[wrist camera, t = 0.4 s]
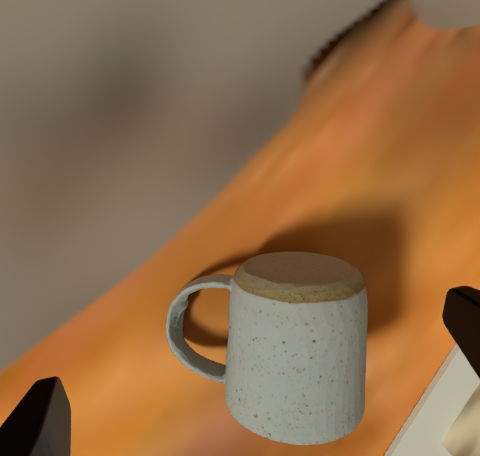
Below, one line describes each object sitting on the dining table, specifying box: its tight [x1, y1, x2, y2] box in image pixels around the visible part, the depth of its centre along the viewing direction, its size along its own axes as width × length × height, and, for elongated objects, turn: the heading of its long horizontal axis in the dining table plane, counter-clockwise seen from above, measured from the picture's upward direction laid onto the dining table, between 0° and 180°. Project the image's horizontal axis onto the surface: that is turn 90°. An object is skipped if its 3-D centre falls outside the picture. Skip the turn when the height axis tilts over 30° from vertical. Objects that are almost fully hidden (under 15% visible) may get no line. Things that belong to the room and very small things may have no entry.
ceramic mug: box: [166, 251, 368, 445], centre depth 23 cm, size 11×8×8 cm
